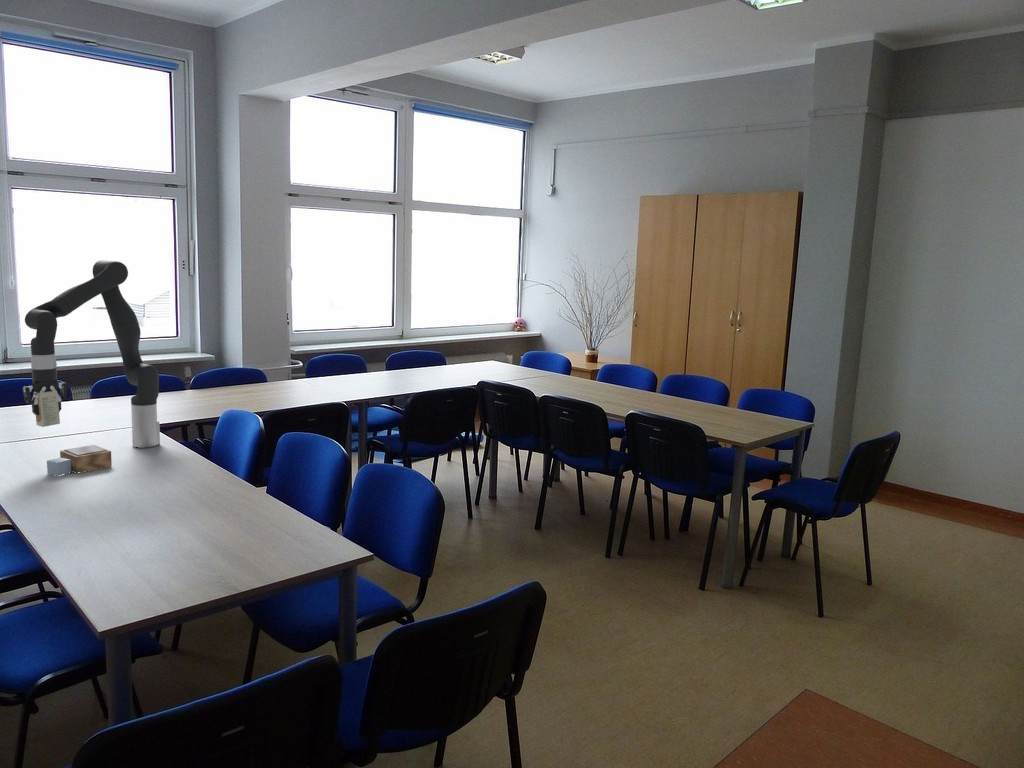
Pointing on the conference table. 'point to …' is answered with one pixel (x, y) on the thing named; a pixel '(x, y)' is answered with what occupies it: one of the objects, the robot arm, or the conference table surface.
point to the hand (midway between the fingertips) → (47, 413)
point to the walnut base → (87, 458)
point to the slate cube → (58, 466)
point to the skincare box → (47, 409)
